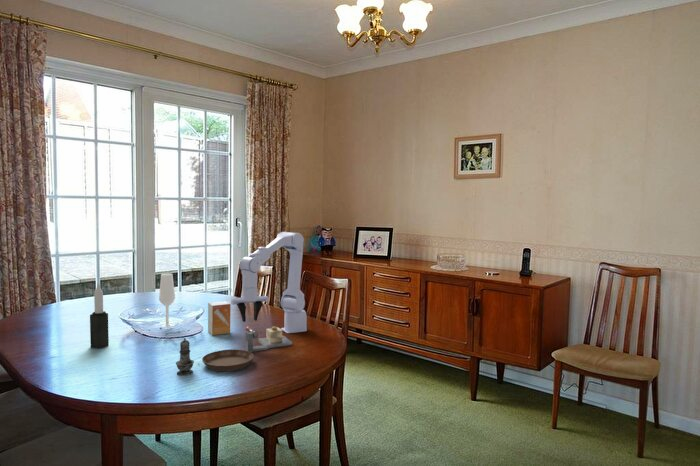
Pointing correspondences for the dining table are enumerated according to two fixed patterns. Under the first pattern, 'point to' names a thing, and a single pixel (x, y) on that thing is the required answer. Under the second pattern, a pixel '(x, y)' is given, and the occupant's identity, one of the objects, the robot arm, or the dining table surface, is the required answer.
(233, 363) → the plant saucer
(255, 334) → the lever
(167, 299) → the champagne flute
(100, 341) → the black and grey bottle
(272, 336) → the block
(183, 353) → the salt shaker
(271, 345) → the grey panel board
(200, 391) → the dining table surface
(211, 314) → the small box
